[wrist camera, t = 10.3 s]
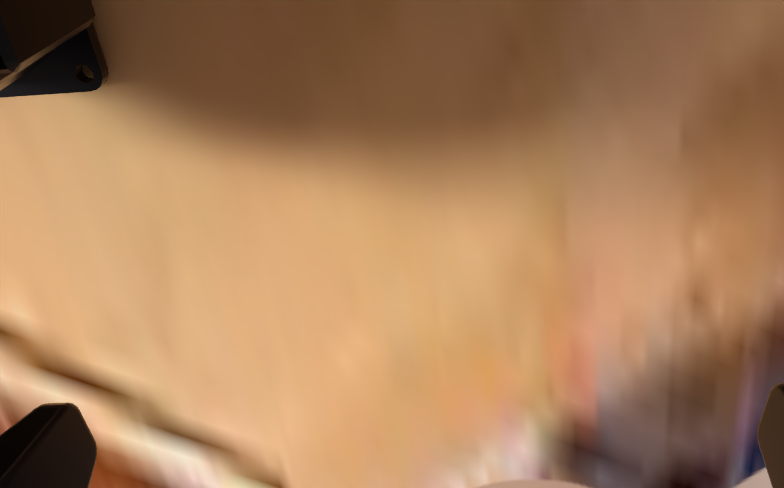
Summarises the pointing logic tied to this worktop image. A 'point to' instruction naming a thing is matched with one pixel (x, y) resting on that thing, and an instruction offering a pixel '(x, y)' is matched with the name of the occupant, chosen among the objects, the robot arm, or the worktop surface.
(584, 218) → the worktop surface
